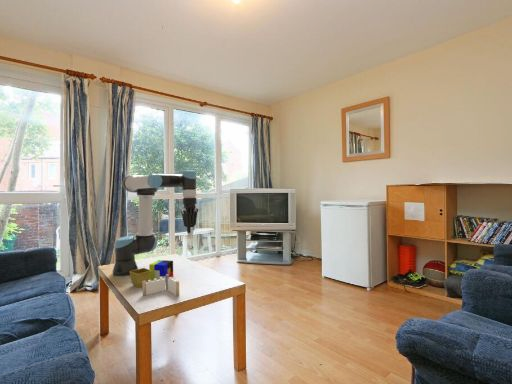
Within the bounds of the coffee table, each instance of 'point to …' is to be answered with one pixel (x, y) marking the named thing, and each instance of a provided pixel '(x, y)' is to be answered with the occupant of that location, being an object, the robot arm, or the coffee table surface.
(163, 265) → the puzzle toy
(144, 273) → the flower pot
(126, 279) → the coffee table surface
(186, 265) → the coffee table surface
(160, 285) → the fence fixed
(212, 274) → the coffee table surface
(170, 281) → the fence wing
